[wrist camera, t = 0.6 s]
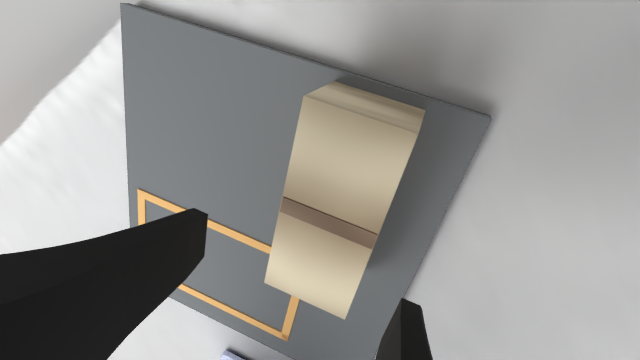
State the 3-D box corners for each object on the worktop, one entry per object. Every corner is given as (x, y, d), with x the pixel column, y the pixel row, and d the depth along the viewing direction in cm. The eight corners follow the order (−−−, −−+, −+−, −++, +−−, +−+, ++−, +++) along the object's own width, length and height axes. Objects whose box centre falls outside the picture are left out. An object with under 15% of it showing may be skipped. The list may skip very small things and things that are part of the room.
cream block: (362, 269, 20) (344, 320, 17) (294, 240, 21) (263, 283, 18) (425, 110, 16) (418, 134, 12) (334, 81, 16) (303, 96, 13)
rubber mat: (358, 383, 25) (356, 392, 25) (137, 274, 29) (131, 279, 29) (490, 115, 15) (492, 119, 15) (129, 3, 19) (118, 2, 19)
